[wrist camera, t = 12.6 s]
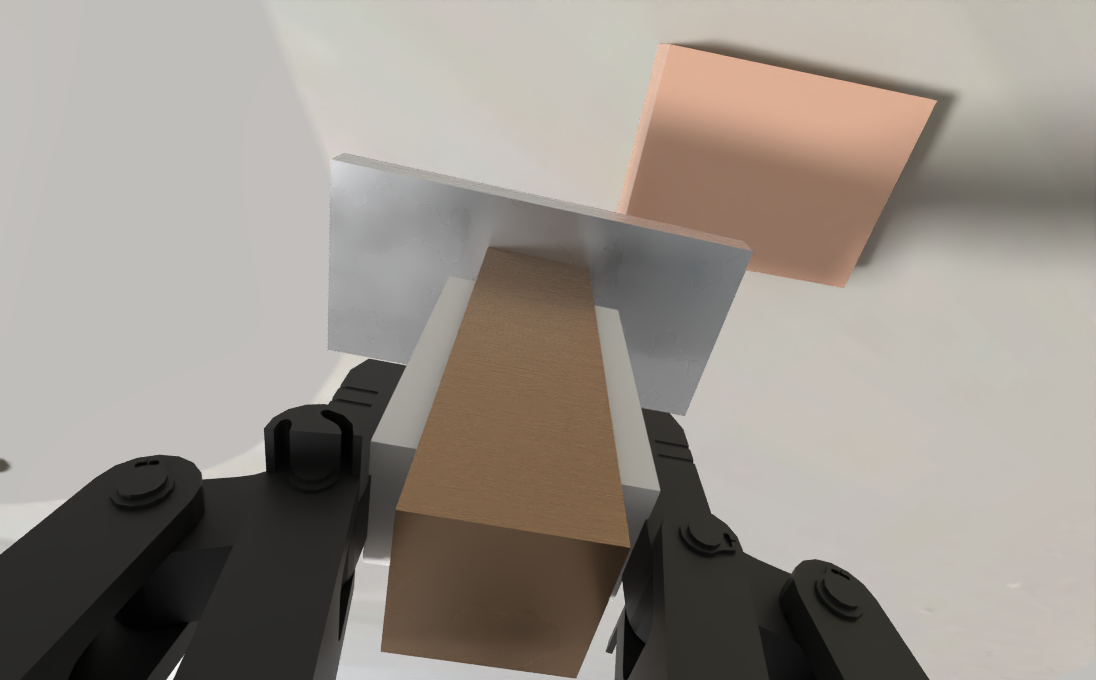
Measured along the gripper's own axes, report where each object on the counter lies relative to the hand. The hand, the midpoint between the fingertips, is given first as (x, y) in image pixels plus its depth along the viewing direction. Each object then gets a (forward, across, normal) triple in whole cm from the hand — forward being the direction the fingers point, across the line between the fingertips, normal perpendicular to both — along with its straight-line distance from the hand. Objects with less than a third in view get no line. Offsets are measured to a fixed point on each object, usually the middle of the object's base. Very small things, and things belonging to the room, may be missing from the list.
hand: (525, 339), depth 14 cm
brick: (+14, -4, -4) cm, 15 cm away
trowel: (+3, 0, 0) cm, 3 cm away
